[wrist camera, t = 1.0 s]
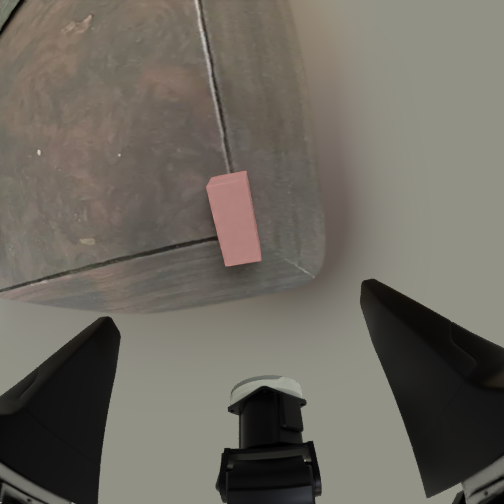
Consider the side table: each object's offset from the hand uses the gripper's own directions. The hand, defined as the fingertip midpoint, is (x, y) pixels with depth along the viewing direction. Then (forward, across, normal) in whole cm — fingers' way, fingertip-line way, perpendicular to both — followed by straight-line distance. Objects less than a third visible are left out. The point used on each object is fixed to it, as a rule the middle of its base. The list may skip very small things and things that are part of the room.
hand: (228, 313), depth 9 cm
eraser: (+10, 0, 0) cm, 10 cm away
